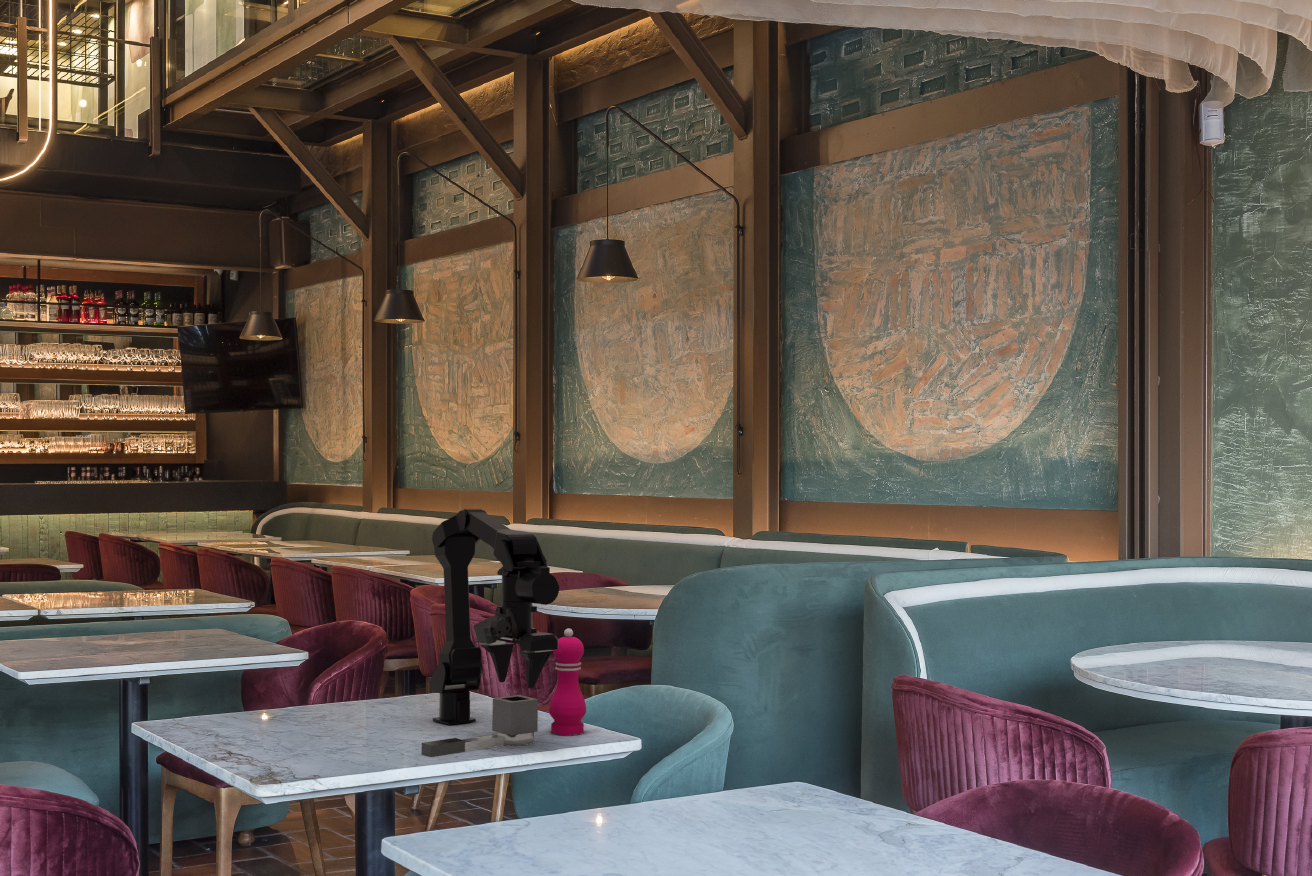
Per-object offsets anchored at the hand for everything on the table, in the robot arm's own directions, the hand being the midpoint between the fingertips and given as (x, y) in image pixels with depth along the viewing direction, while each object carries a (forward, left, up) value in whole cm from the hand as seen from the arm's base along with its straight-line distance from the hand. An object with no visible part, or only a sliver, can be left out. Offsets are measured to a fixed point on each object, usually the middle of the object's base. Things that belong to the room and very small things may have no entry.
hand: (516, 685), depth 237 cm
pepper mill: (-1, +13, -11) cm, 17 cm away
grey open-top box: (0, 0, -9) cm, 9 cm away
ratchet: (0, -8, -10) cm, 13 cm away
